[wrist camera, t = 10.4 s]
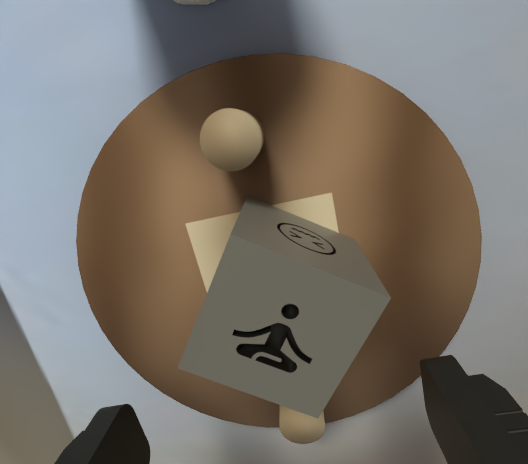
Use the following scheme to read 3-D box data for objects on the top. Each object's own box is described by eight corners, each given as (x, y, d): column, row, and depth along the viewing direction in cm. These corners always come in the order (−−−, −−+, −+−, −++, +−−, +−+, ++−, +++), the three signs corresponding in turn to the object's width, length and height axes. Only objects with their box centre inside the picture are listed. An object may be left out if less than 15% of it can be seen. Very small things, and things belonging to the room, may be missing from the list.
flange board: (452, 7, 13) (522, -40, 9) (471, 380, 18) (520, 448, 15) (33, 118, 15) (-51, 118, 11) (160, 423, 20) (133, 493, 17)
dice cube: (208, 293, 16) (177, 368, 11) (247, 195, 14) (230, 234, 9) (307, 330, 16) (318, 418, 11) (355, 239, 15) (391, 297, 10)
